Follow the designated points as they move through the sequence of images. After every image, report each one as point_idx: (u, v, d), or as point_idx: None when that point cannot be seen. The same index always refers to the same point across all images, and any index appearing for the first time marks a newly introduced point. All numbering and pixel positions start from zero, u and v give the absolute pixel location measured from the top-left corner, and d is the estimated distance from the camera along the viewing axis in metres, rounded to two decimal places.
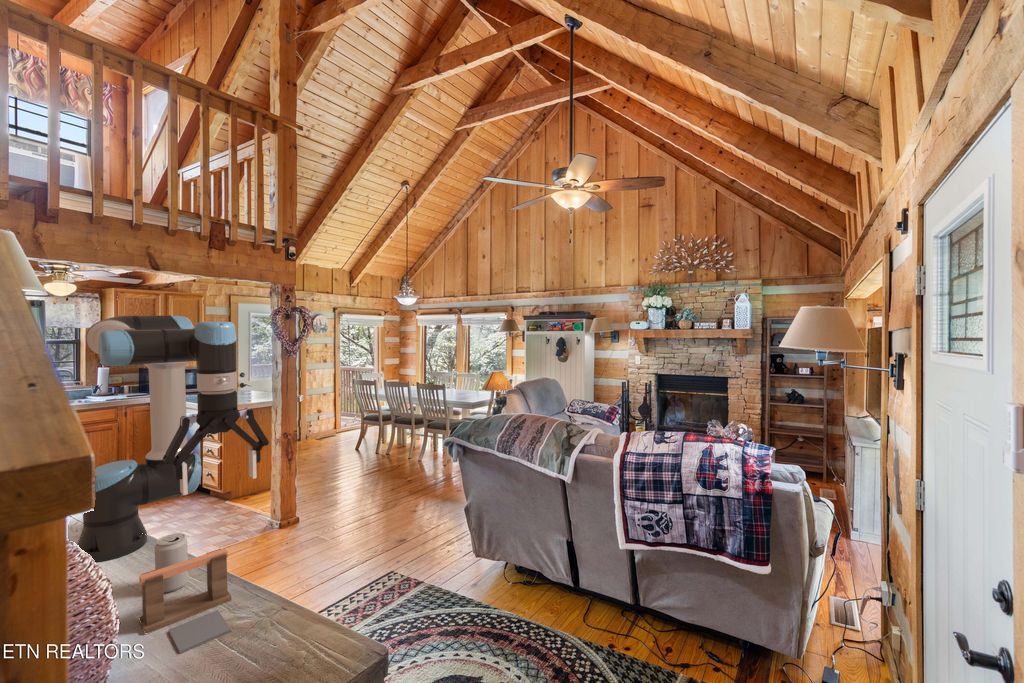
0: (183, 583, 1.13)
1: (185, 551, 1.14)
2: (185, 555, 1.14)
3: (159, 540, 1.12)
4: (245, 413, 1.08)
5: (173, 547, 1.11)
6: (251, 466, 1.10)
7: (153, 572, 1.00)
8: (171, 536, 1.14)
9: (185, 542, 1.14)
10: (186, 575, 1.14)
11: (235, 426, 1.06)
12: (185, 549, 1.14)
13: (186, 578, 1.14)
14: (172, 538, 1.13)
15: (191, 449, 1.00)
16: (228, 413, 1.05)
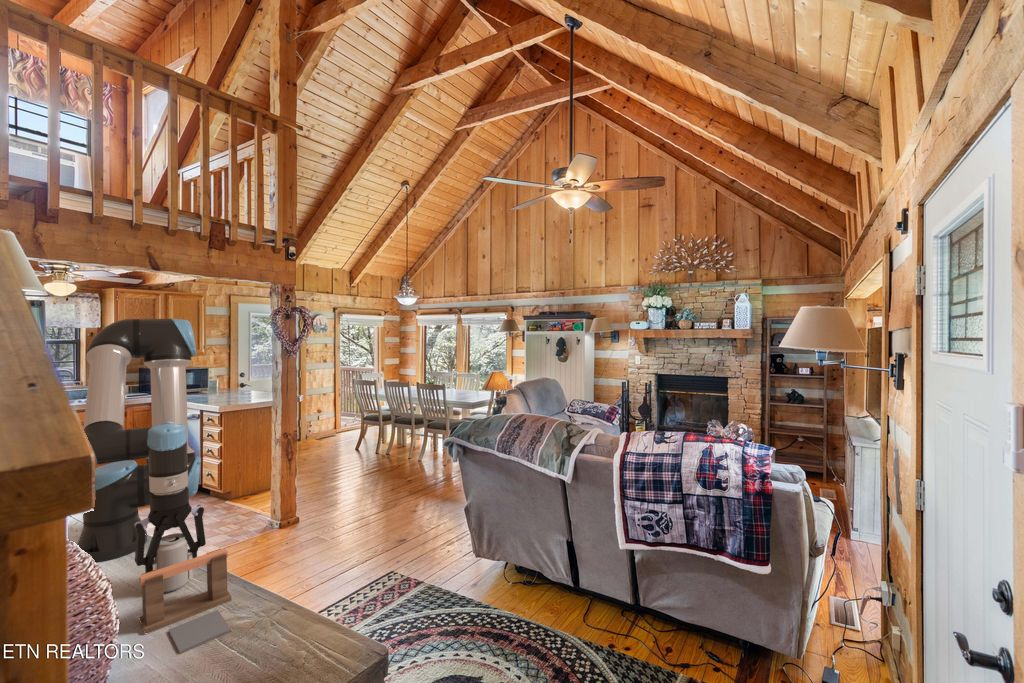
0: (183, 583, 1.13)
1: (185, 551, 1.13)
2: (185, 555, 1.13)
3: None
4: (196, 510, 1.16)
5: (173, 547, 1.11)
6: None
7: (153, 572, 1.00)
8: (171, 536, 1.14)
9: (185, 542, 1.14)
10: (186, 575, 1.14)
11: (183, 524, 1.13)
12: (185, 549, 1.13)
13: (186, 578, 1.14)
14: (172, 538, 1.13)
15: (155, 548, 1.10)
16: (181, 507, 1.13)
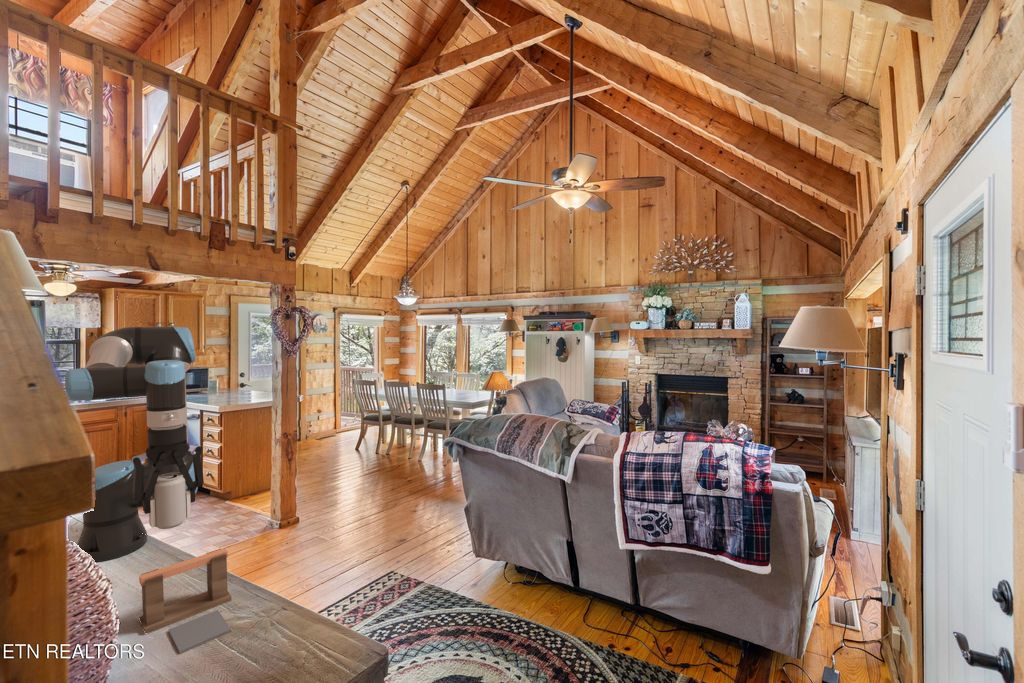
0: (181, 521, 1.12)
1: (183, 489, 1.12)
2: (183, 493, 1.12)
3: None
4: (194, 449, 1.15)
5: (170, 484, 1.10)
6: (186, 506, 1.15)
7: (153, 572, 1.00)
8: (169, 474, 1.13)
9: (183, 480, 1.13)
10: (184, 513, 1.13)
11: (180, 461, 1.12)
12: (183, 487, 1.12)
13: (184, 516, 1.13)
14: (170, 475, 1.12)
15: (153, 484, 1.09)
16: (179, 444, 1.12)
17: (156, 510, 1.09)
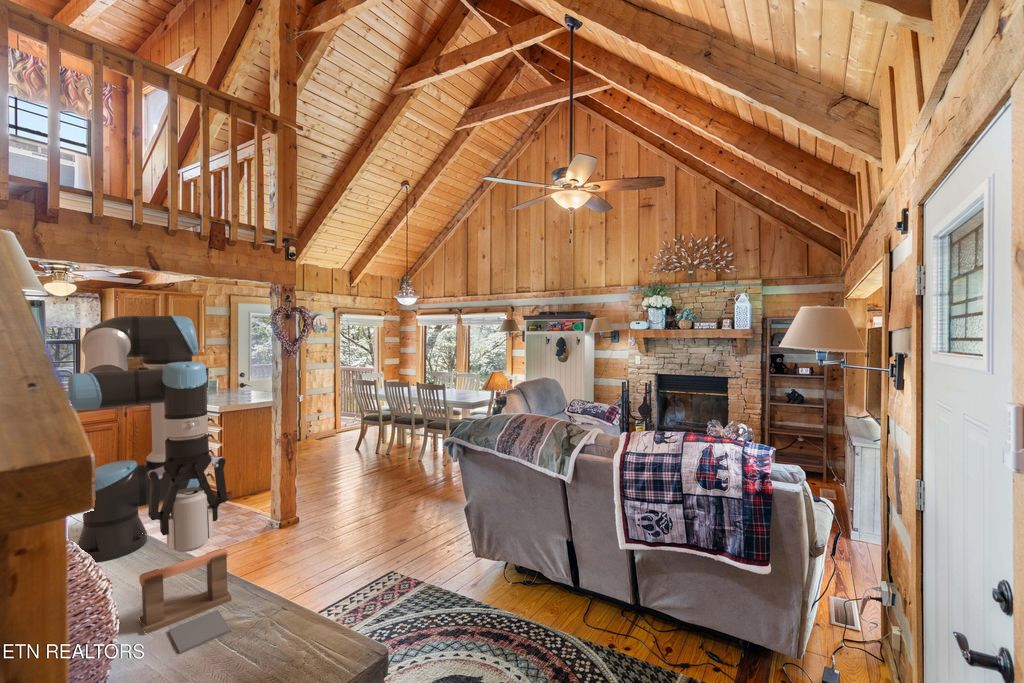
0: (202, 542, 1.00)
1: (205, 506, 1.00)
2: (205, 511, 1.00)
3: None
4: (216, 461, 1.03)
5: (191, 501, 0.97)
6: None
7: (153, 572, 1.00)
8: (189, 489, 1.01)
9: (205, 496, 1.00)
10: (206, 534, 1.01)
11: (202, 475, 1.00)
12: (205, 504, 1.00)
13: (206, 537, 1.01)
14: (190, 491, 1.00)
15: (172, 501, 0.96)
16: (200, 456, 1.00)
17: (175, 531, 0.97)
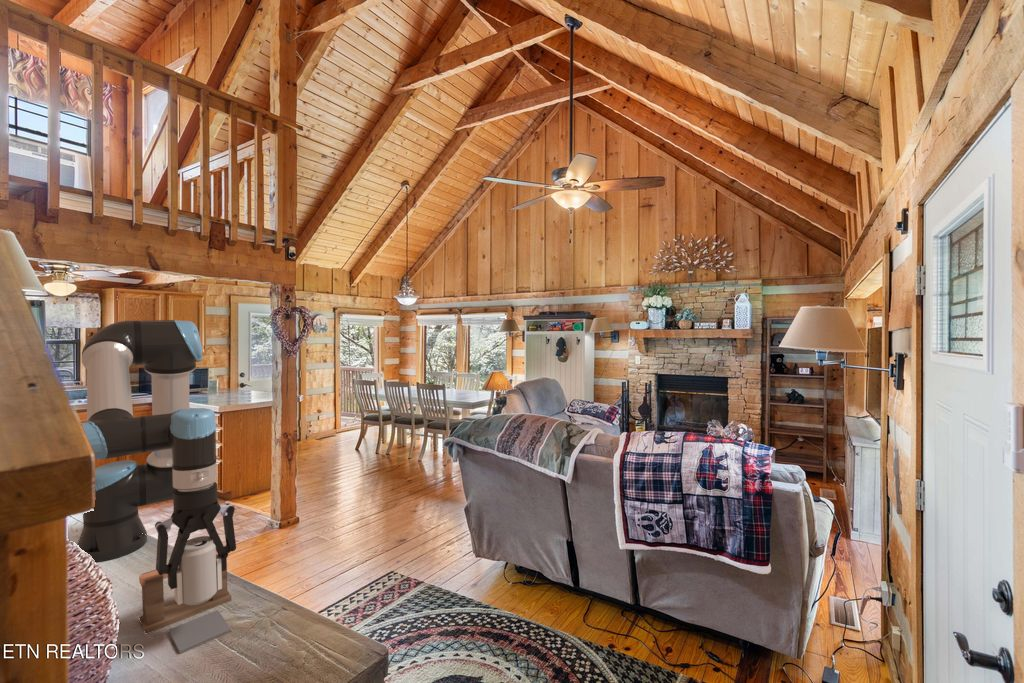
0: (211, 594, 0.97)
1: (214, 557, 0.97)
2: (214, 561, 0.97)
3: None
4: (225, 509, 1.00)
5: (200, 553, 0.95)
6: None
7: (153, 572, 1.00)
8: (197, 539, 0.98)
9: (213, 546, 0.98)
10: (214, 585, 0.98)
11: (211, 525, 0.97)
12: (214, 554, 0.97)
13: (214, 588, 0.98)
14: (198, 542, 0.97)
15: (180, 554, 0.94)
16: (209, 506, 0.97)
17: (183, 584, 0.94)
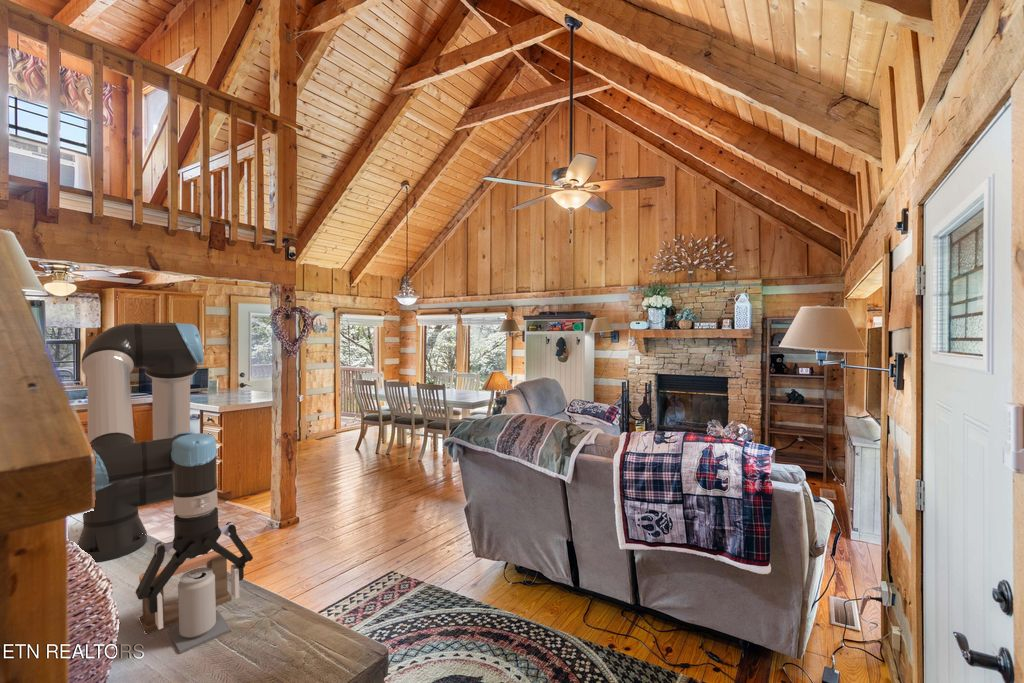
0: (210, 626, 0.97)
1: (213, 589, 0.98)
2: (213, 593, 0.98)
3: (183, 577, 0.96)
4: (227, 530, 1.01)
5: (199, 586, 0.95)
6: (233, 585, 1.02)
7: None
8: (196, 571, 0.98)
9: (213, 578, 0.98)
10: (214, 617, 0.98)
11: (215, 547, 0.98)
12: (213, 586, 0.98)
13: (214, 620, 0.98)
14: (198, 574, 0.98)
15: (167, 579, 0.92)
16: (208, 533, 0.97)
17: (183, 617, 0.95)
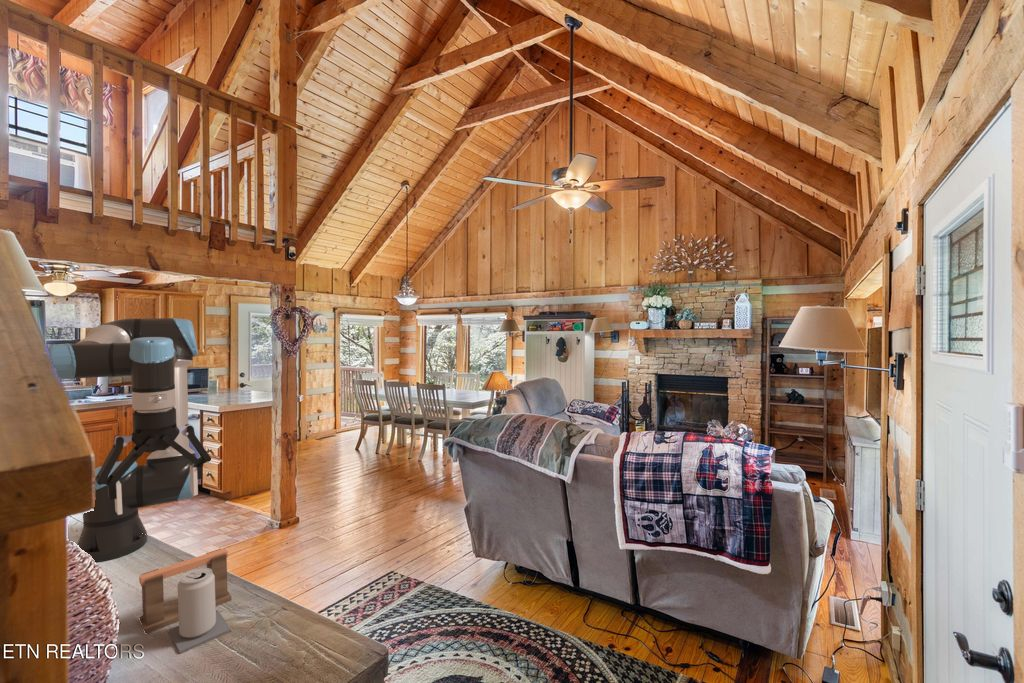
0: (210, 626, 0.97)
1: (213, 589, 0.98)
2: (213, 594, 0.98)
3: (183, 577, 0.96)
4: (185, 430, 1.06)
5: (199, 586, 0.95)
6: (192, 483, 1.08)
7: (153, 572, 1.00)
8: (196, 571, 0.98)
9: (212, 578, 0.98)
10: (214, 617, 0.98)
11: (174, 444, 1.04)
12: (213, 587, 0.98)
13: (214, 620, 0.98)
14: (197, 574, 0.97)
15: (126, 468, 0.98)
16: (166, 431, 1.03)
17: (182, 617, 0.95)
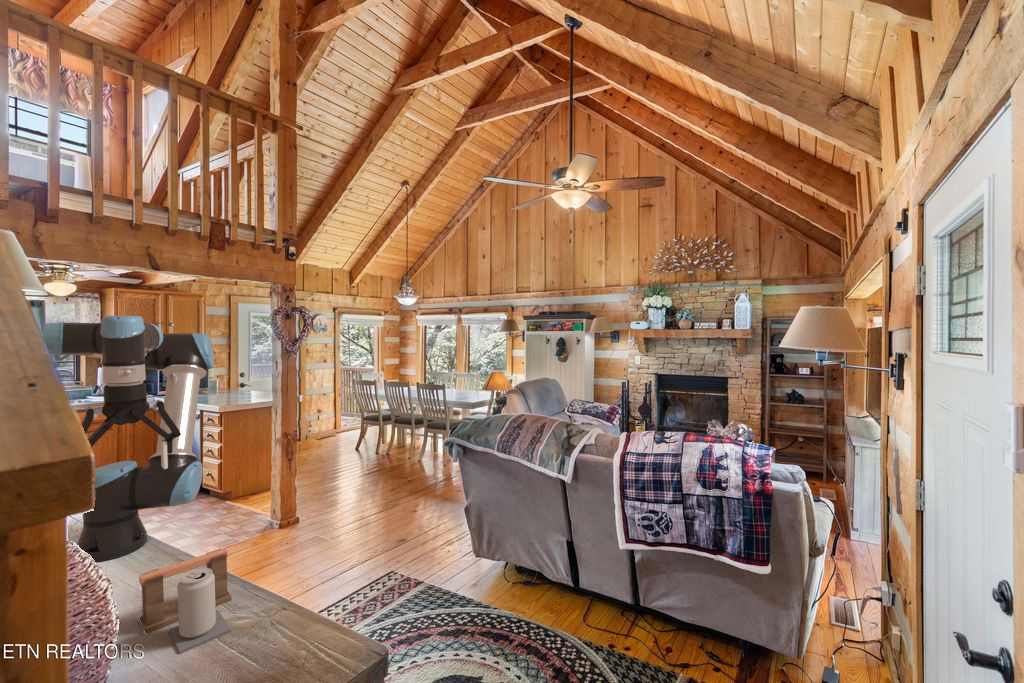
0: (210, 626, 0.97)
1: (213, 589, 0.98)
2: (213, 594, 0.98)
3: (182, 577, 0.96)
4: (155, 405, 1.11)
5: (199, 586, 0.95)
6: (162, 457, 1.13)
7: (153, 572, 1.00)
8: (196, 571, 0.98)
9: (212, 578, 0.98)
10: (214, 617, 0.98)
11: (143, 417, 1.09)
12: (212, 587, 0.98)
13: (214, 620, 0.98)
14: (197, 574, 0.97)
15: (96, 439, 1.03)
16: (136, 405, 1.08)
17: (182, 617, 0.95)
